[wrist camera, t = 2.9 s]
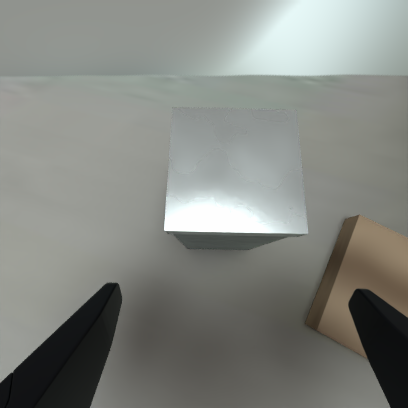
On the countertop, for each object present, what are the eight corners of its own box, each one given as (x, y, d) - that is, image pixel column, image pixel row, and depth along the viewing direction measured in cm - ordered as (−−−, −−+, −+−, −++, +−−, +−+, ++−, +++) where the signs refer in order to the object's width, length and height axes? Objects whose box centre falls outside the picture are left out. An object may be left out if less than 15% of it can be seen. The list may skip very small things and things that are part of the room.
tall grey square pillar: (249, 251, 20) (307, 233, 9) (186, 249, 21) (164, 230, 9) (247, 191, 22) (296, 109, 10) (188, 190, 22) (172, 107, 10)
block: (419, 387, 18) (452, 406, 16) (302, 322, 19) (316, 330, 17) (448, 272, 21) (480, 273, 18) (342, 220, 22) (359, 214, 19)
